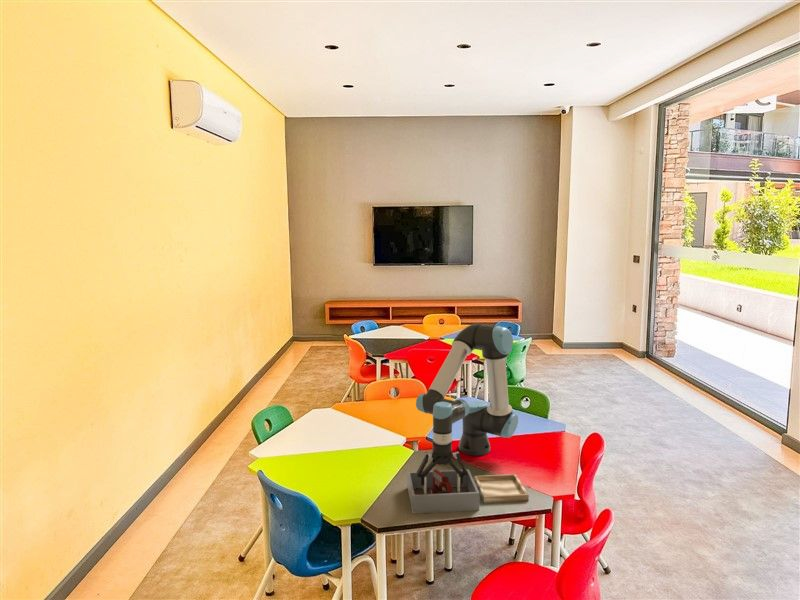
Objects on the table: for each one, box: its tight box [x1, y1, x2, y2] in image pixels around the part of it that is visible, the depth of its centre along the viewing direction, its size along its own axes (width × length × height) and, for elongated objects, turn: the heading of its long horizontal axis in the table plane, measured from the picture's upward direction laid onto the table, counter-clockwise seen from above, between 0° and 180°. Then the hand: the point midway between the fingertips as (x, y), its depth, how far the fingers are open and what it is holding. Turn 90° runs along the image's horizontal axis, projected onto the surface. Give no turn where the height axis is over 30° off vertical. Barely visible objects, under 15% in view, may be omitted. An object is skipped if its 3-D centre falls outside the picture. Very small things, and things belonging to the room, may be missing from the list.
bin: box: [406, 468, 481, 514], centre depth 221 cm, size 20×26×7 cm
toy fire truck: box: [428, 468, 455, 494], centre depth 221 cm, size 7×12×10 cm, turn 29°
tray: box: [473, 473, 530, 504], centre depth 227 cm, size 18×18×2 cm
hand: (441, 491), depth 221 cm, fingers open, 13 cm apart
